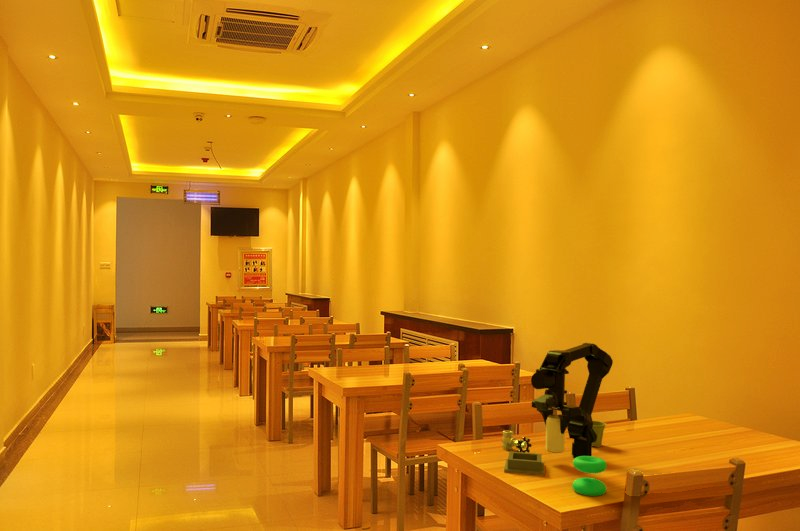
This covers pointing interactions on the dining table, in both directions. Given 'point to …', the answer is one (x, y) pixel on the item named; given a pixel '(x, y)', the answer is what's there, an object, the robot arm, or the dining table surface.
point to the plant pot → (598, 432)
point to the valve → (514, 442)
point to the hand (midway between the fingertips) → (555, 431)
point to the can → (554, 435)
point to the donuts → (589, 484)
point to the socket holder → (524, 463)
